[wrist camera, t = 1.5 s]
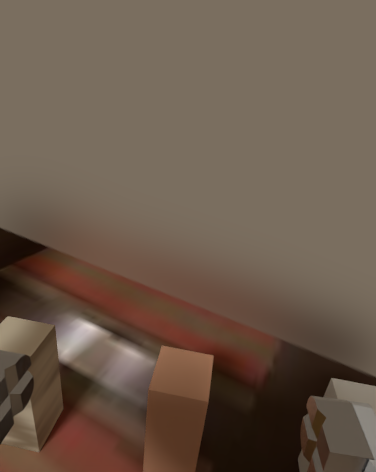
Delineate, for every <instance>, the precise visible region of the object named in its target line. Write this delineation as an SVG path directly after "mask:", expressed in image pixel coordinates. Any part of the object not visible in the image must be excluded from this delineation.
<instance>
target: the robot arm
mask: <svg viewBox="0 0 376 472" xmlns="http://www.w3.org/2000/svg"><path fill="white" fill-rule="evenodd" d="M30 366H31V360H30V356H28V355H26V354H20V353H14V352H8V351H3V350H0V444H1V443H2V441H3V440H4V438H5V437H6V435H7V434H8V432H9V431H10V429H11V428H12V426H13V425H14V416H15V415H17V414H18V413H20V412H21V411H23V410H24V409H25V407H26V405H27V404H28V402H29V400H30V398H31V395H32V392H33V388H34V379H33V375H32V374H31V373H30V372H29V371H28V369H29V367H30ZM306 406H307V410H308V414H307V415H305V416H304V417H303V420H302V424H301V435H300V437H301V447H302V452H303V456H304V457H305V458H306V459H307V460H308V462H309V463H310V464H309V467H308V470H307V472H376V415H375V413H374V411H373V409H372V407H371V406H370V405H369V404H368V403H361V402H354V401H347V400H340V399H332V398H325V397H317V396H310V398H309V399H308V402H307V405H306Z"/></svg>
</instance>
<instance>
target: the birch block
mask: <svg viewBox="0 0 376 472" xmlns="http://www.w3.org/2000/svg"><path fill="white" fill-rule="evenodd" d="M0 350H3V351H8V352H14V353H20V354H26V355H28V356H30V360H31V366H30V367H29V369H28V371H29V372H30V373H31V374H32V375H33V379H34V388H33V392H32V395H31V398H30V400H29V402H28V404H27V405H26V407H25V409H24V410H23V411H21V412H20V413H18V414H17V415H15V416H14V425H13V426H12V428H11V429H10V431H9V432H8V434H7V435H6V437H5V438H4V440H3V441H2V443H1V444H6V445H10V446H14V447H19V448H23V449H27V450H31V451H36V452H40V450H41V448H42V447H43V445H44V443H45V441H46V439H47V438H48V436H49V434H50V432H51V430H52V429H53V427H54V425H55V423H56V421H57V419H58V418H59V416H60V414H61V412H62V410H63V399H62V389H61V380H60V370H59V360H58V351H57V341H56V331H55V325H51V324H45V323H40V322H35V321H30V320H25V319H20V318H14V317H9V316H8V317H7V318H6V319H5V320H4V321H3V322H2V323H1V324H0Z"/></svg>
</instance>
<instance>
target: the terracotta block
mask: <svg viewBox="0 0 376 472" xmlns="http://www.w3.org/2000/svg"><path fill="white" fill-rule="evenodd" d="M213 357H214V356H213V355H208V354H203V353H198V352H192V351H187V350H182V349H177V348H172V347H166V346H162V348H161V351H160V354H159V357H158V360H157V364H156V367H155V370H154V373H153V376H152V380H151V383H150V386H149V389H148V404H147V419H146V434H145V448H144V463H143V472H195V470H196V465H197V460H198V454H199V449H200V444H201V439H202V433H203V428H204V423H205V417H206V412H207V407H208V401H209V393H210V384H211V375H212V366H213Z"/></svg>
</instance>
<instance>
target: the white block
mask: <svg viewBox="0 0 376 472" xmlns="http://www.w3.org/2000/svg"><path fill="white" fill-rule="evenodd" d="M324 397H325V398H332V399H340V400H347V401H354V402H361V403H368V404H369V405H370V406H371V407H372V409H373V411H374V413H375V415H376V386H371V385H366V384H361V383H356V382H350V381H345V380H340V379H335V378H331V380H330V382H329V385H328V387H327V390H326V392H325V394H324ZM298 464H299V471H300V472H307V470H308V467H309V464H310V463H309V462H308V460H307V459H306V458H305V457H304V456H303V452H302V450H301V452H300V455H299V457H298Z"/></svg>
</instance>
